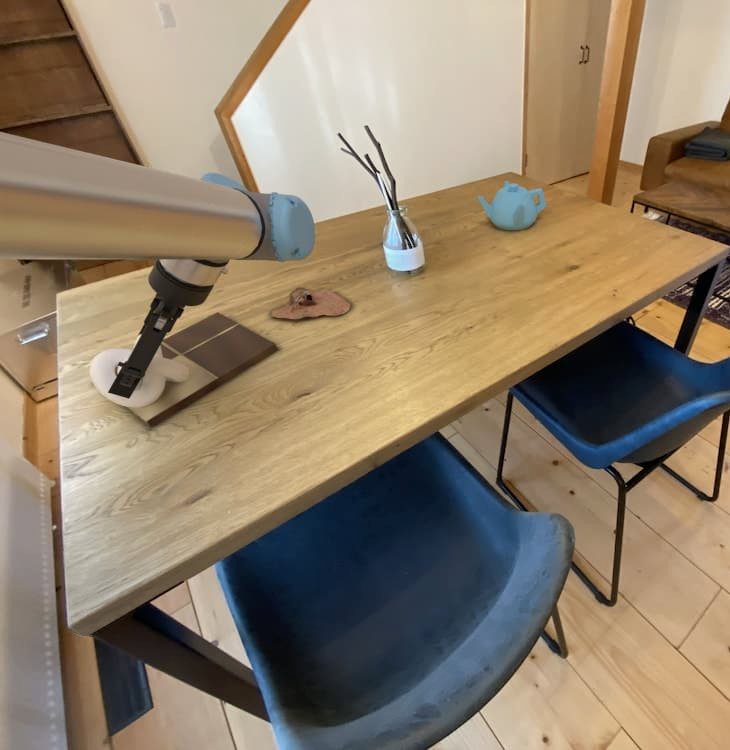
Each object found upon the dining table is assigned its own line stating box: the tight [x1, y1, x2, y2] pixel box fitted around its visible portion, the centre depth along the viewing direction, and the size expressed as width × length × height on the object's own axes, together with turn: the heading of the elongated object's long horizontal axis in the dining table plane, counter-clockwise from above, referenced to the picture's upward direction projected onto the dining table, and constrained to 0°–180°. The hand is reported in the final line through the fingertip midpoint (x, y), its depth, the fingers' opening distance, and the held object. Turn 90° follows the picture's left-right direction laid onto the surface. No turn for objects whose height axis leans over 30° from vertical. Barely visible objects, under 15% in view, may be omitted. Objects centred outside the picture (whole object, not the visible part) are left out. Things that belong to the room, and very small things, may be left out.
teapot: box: [477, 180, 547, 231], centre depth 125 cm, size 15×15×11 cm
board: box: [115, 312, 279, 428], centre depth 82 cm, size 24×20×2 cm
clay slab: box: [271, 287, 352, 320], centre depth 95 cm, size 15×13×3 cm
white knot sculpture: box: [89, 334, 190, 408], centre depth 72 cm, size 11×12×9 cm
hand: (132, 366), depth 72 cm, fingers open, 13 cm apart
